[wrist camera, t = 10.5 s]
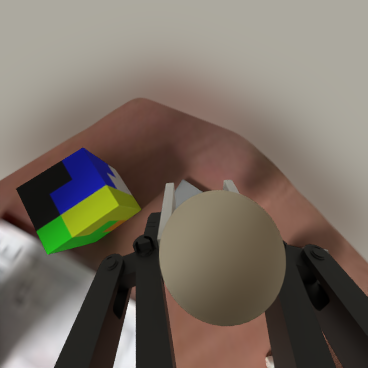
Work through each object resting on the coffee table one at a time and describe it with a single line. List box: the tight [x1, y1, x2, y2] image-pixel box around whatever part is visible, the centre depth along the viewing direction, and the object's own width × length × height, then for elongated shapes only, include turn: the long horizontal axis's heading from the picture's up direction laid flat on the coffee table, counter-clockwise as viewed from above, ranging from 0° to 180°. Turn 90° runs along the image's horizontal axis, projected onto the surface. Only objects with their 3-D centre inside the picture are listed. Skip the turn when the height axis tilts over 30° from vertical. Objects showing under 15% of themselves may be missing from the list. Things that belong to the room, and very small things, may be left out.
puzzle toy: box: [16, 148, 142, 255], centre depth 24 cm, size 10×10×10 cm
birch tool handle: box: [159, 190, 286, 326], centre depth 12 cm, size 5×5×12 cm
